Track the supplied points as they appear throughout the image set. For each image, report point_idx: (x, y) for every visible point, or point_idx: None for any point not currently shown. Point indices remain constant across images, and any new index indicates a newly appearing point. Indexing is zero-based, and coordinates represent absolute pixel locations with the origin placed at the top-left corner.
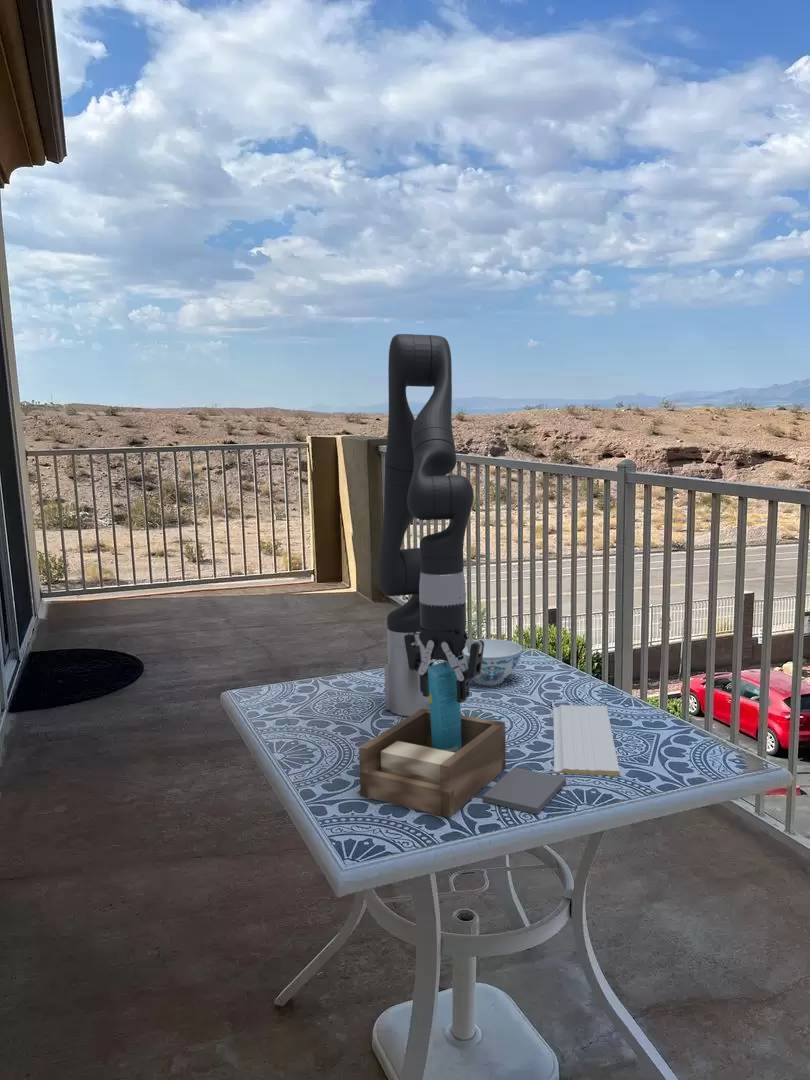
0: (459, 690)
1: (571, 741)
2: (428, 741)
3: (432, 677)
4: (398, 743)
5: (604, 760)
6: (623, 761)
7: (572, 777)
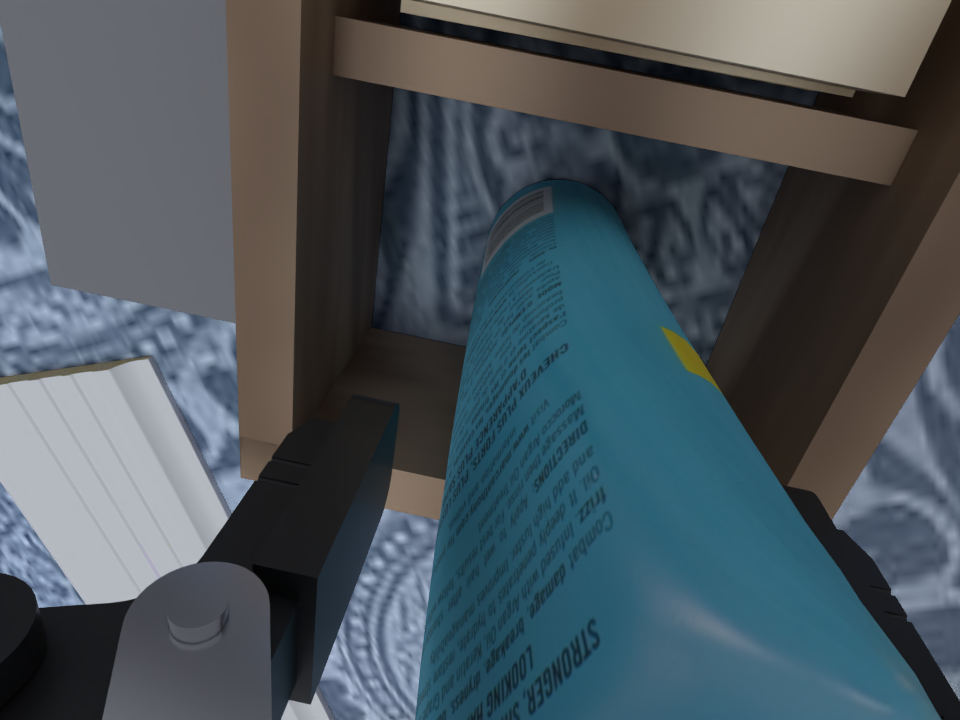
0: (320, 473)
1: None
2: None
3: (728, 552)
4: (889, 40)
5: (25, 461)
6: None
7: (79, 336)
